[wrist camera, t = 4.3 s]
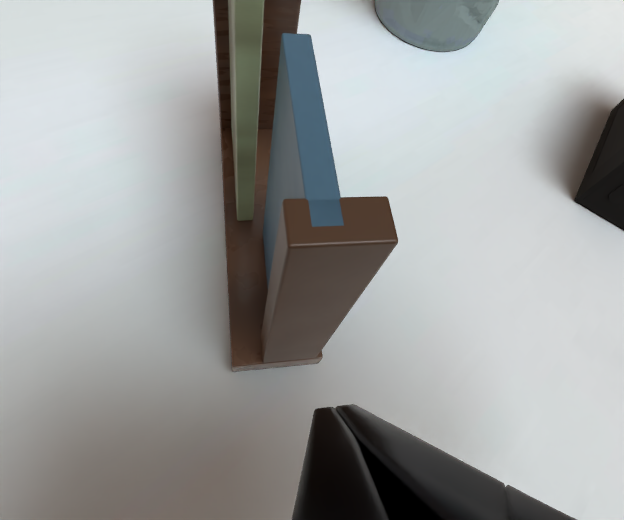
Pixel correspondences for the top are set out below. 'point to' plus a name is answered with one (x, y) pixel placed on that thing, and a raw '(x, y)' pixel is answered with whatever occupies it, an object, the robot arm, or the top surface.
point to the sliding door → (312, 220)
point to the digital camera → (607, 172)
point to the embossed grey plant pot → (435, 21)
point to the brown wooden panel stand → (248, 157)
